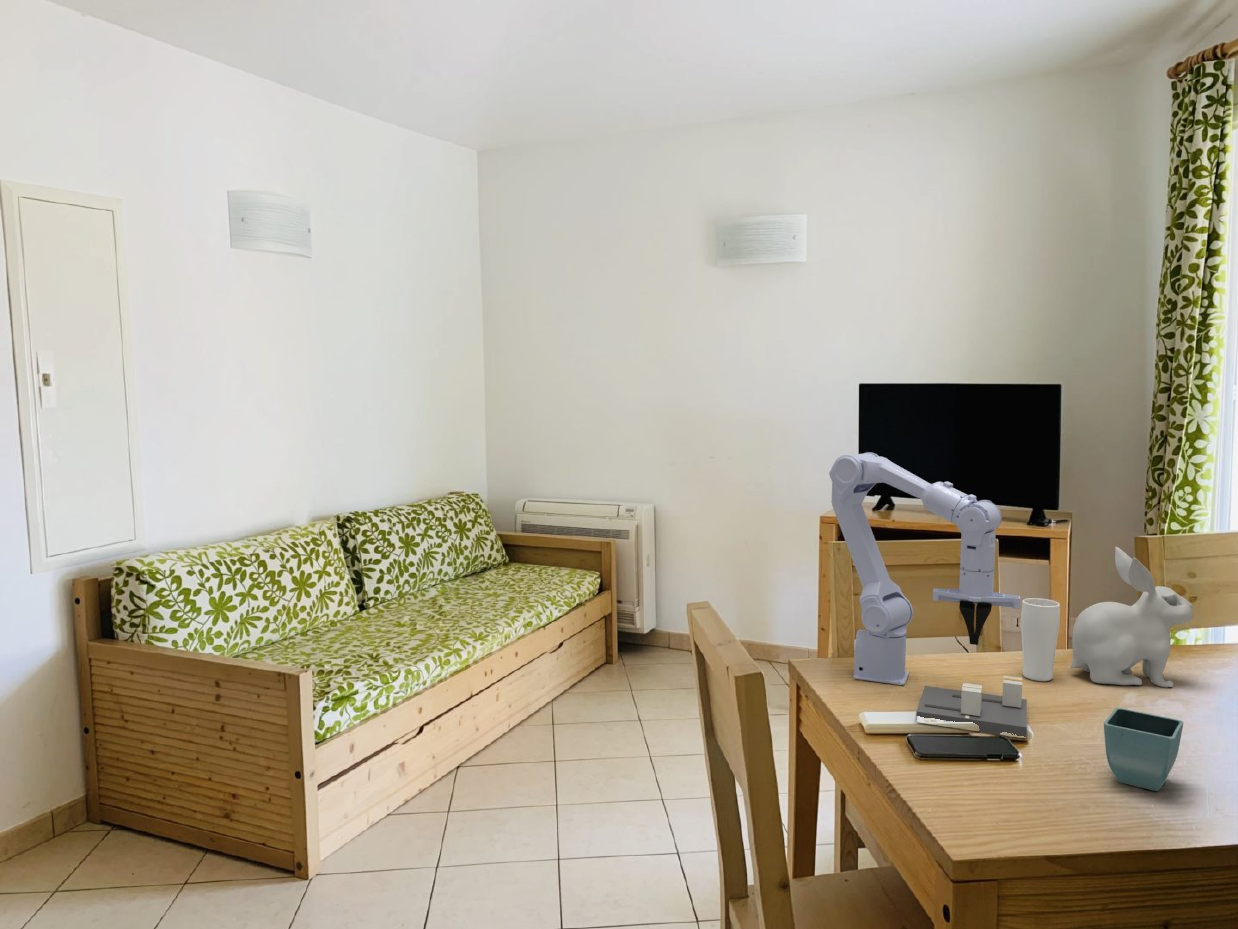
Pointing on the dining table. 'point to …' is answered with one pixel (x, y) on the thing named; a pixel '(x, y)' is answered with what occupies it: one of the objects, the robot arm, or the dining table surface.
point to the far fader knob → (1012, 691)
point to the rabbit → (1129, 630)
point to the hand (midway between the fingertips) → (974, 643)
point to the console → (990, 720)
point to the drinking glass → (1039, 637)
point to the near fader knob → (971, 699)
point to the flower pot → (1141, 747)
